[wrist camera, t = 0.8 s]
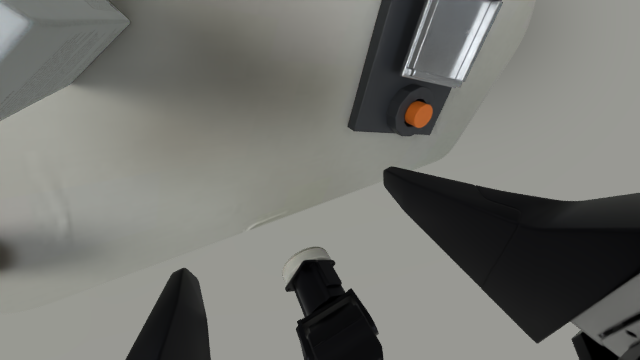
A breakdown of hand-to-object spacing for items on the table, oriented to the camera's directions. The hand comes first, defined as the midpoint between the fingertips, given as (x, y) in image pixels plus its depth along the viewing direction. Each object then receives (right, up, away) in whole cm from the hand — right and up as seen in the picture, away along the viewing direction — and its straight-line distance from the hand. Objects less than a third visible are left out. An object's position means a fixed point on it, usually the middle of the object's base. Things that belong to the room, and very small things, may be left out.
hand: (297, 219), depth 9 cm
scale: (+11, +15, +16) cm, 24 cm away
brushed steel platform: (+13, +16, +12) cm, 24 cm away
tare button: (+12, +9, +16) cm, 22 cm away
